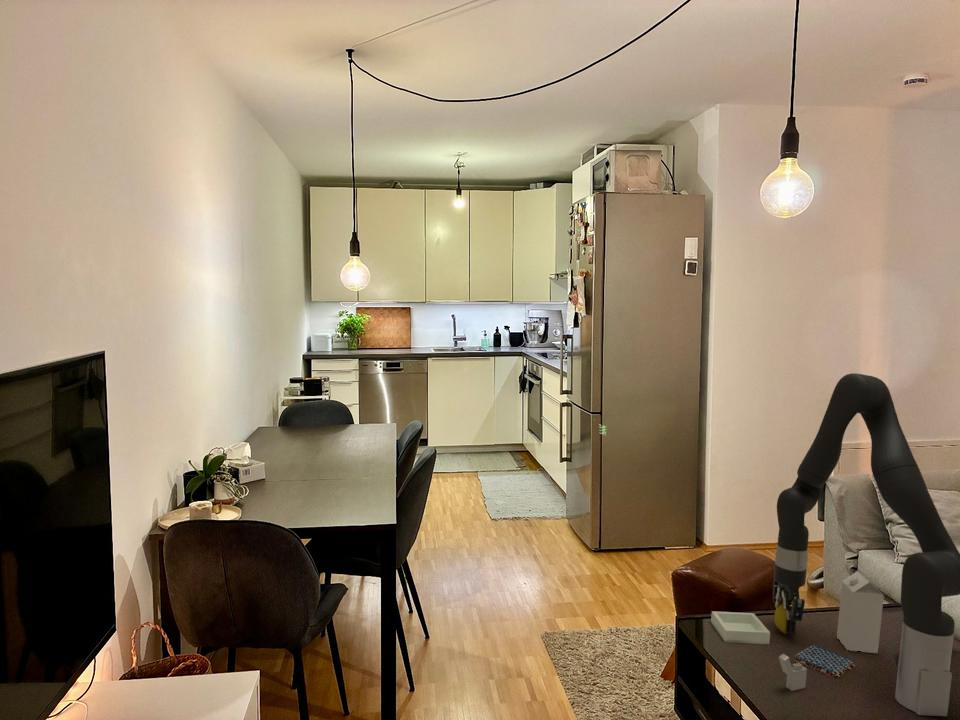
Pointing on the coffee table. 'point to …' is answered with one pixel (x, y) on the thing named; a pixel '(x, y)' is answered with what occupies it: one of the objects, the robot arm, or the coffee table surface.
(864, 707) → the coffee table surface
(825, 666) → the woven mat
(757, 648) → the coffee table surface
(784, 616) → the lemon
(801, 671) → the lighter
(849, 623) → the milk carton
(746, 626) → the tray
